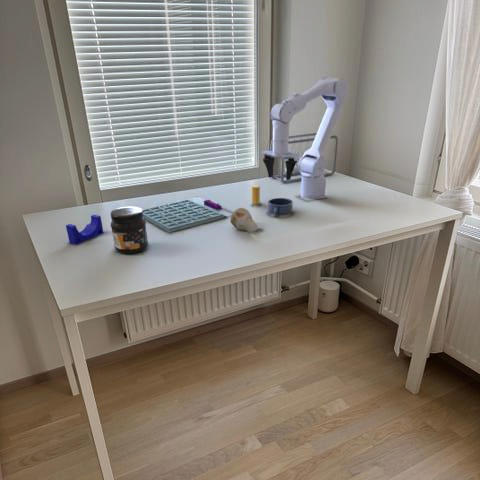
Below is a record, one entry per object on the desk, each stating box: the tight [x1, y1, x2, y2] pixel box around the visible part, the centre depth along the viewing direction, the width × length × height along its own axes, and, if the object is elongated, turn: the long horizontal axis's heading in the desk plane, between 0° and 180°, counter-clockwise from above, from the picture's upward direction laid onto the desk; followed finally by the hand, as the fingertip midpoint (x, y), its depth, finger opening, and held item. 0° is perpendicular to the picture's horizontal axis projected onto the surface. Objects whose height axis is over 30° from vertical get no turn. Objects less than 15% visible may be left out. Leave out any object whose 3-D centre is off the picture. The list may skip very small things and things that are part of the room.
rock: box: [230, 207, 260, 234], centre depth 155 cm, size 8×10×10 cm
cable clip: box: [65, 214, 104, 246], centre depth 152 cm, size 12×4×6 cm, turn 148°
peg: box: [251, 184, 261, 205], centre depth 177 cm, size 3×3×8 cm
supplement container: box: [110, 206, 149, 255], centre depth 141 cm, size 10×10×12 cm
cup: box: [267, 197, 294, 218], centre depth 169 cm, size 12×9×4 cm
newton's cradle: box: [269, 132, 339, 184], centre depth 210 cm, size 30×10×18 cm, turn 118°
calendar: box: [141, 196, 227, 233], centre depth 172 cm, size 27×29×2 cm
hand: (279, 178), depth 174 cm, fingers open, 7 cm apart
